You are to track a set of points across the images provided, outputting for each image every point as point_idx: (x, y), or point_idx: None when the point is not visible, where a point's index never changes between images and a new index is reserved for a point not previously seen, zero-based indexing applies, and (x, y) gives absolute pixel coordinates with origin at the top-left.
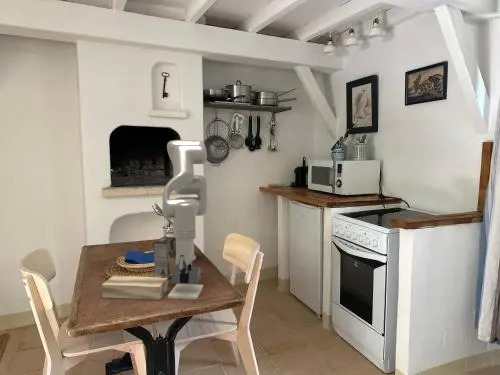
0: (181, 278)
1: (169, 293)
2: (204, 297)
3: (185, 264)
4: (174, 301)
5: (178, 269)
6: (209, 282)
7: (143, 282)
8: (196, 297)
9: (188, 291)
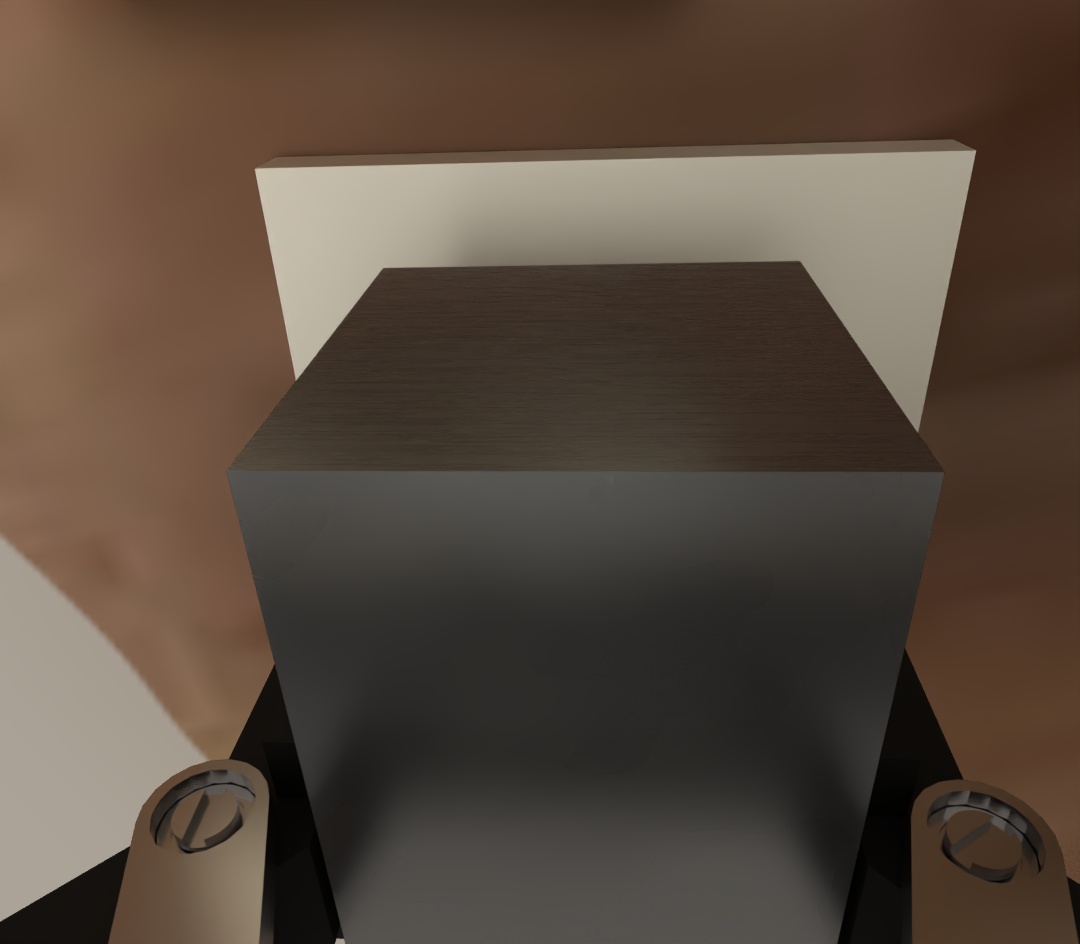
0: (275, 672)
1: (362, 165)
2: None
3: (901, 933)
4: (182, 339)
5: (439, 713)
6: (1076, 716)
7: None
8: None
9: None
